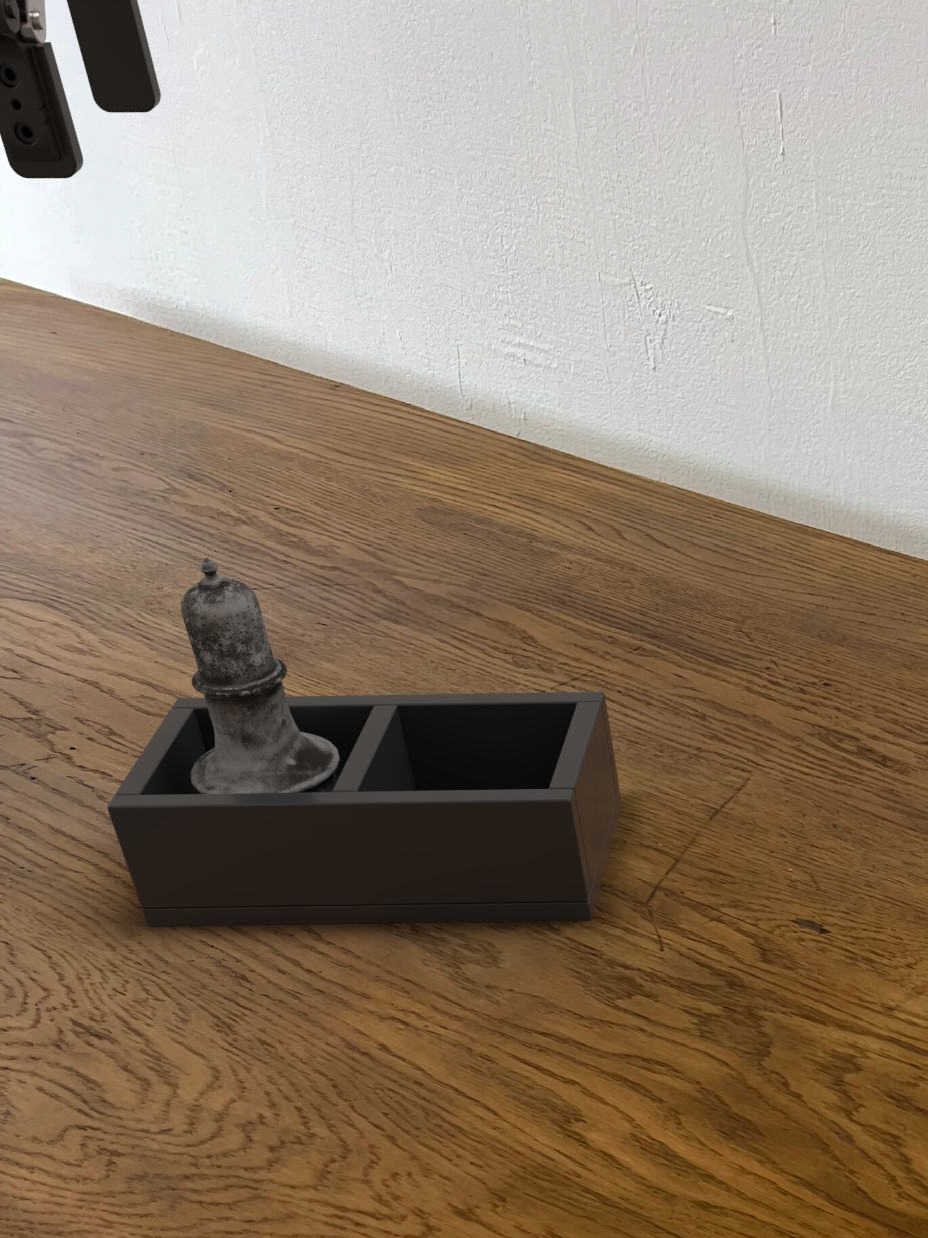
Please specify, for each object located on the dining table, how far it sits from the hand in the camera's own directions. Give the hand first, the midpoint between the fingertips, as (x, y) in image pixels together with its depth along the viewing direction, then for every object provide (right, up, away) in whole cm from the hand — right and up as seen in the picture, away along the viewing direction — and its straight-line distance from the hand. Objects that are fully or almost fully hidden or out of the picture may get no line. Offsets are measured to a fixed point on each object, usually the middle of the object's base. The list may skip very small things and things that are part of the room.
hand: (92, 141), depth 71 cm
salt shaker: (+1, -20, +15) cm, 26 cm away
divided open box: (+5, -21, +16) cm, 27 cm away
